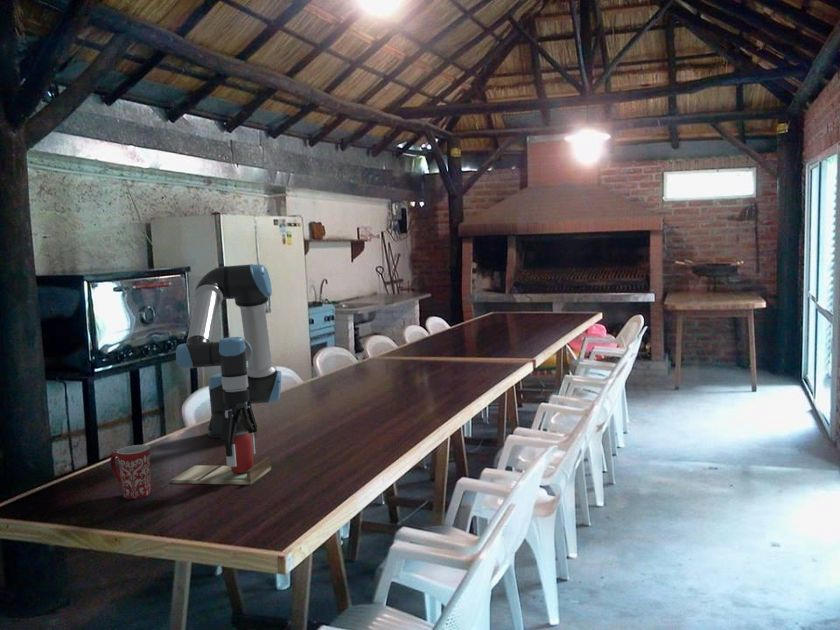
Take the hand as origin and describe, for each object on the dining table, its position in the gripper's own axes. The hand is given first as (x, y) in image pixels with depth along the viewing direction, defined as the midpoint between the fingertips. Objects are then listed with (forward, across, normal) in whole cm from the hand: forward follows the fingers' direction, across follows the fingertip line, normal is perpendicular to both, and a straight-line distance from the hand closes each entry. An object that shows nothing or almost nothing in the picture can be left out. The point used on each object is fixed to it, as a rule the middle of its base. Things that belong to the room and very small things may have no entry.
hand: (241, 460), depth 220 cm
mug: (+5, +17, -26) cm, 32 cm away
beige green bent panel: (+5, 0, -7) cm, 9 cm away
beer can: (+4, 0, 0) cm, 4 cm away
